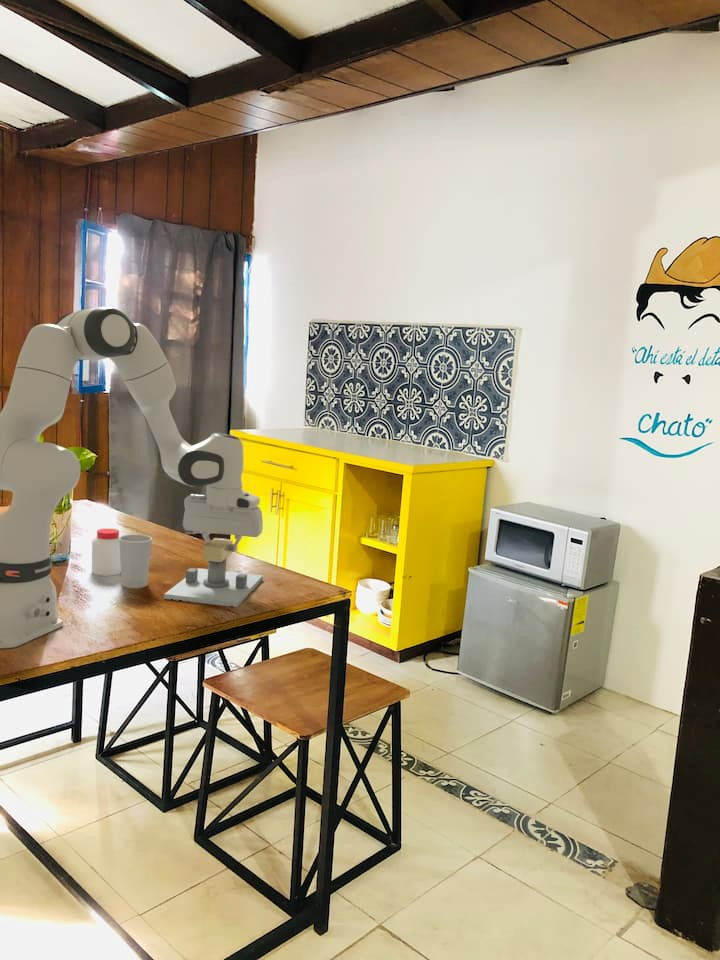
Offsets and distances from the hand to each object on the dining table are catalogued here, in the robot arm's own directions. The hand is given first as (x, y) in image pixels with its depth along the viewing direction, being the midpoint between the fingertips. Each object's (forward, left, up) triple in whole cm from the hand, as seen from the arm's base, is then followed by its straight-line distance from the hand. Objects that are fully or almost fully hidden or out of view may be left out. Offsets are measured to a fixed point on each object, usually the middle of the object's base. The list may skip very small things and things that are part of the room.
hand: (221, 550), depth 201 cm
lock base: (-3, 0, -9) cm, 10 cm away
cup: (-7, +20, -10) cm, 23 cm away
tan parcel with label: (-3, 0, -2) cm, 4 cm away
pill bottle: (+1, +31, -10) cm, 32 cm away
